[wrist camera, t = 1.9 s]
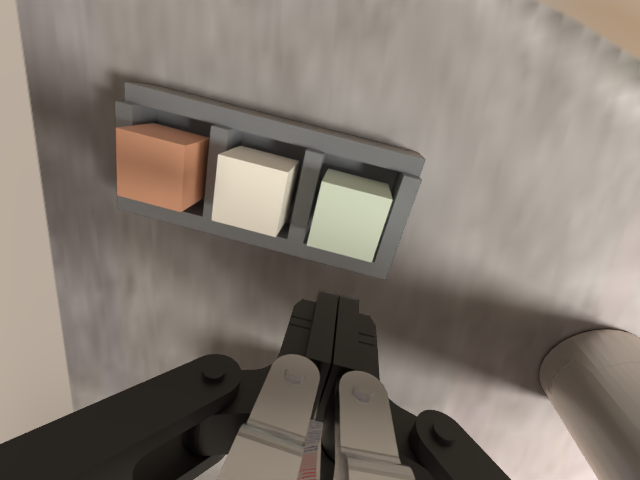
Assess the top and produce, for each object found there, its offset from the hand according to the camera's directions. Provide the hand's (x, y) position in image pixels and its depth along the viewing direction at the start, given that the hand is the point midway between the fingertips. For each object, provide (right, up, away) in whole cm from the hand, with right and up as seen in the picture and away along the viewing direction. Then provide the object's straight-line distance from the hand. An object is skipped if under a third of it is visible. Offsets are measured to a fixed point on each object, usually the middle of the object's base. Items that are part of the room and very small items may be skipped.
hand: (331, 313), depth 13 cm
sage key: (+2, +5, +12) cm, 13 cm away
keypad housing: (-4, +8, +15) cm, 17 cm away
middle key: (-5, +7, +12) cm, 15 cm away
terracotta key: (-11, +9, +12) cm, 19 cm away
